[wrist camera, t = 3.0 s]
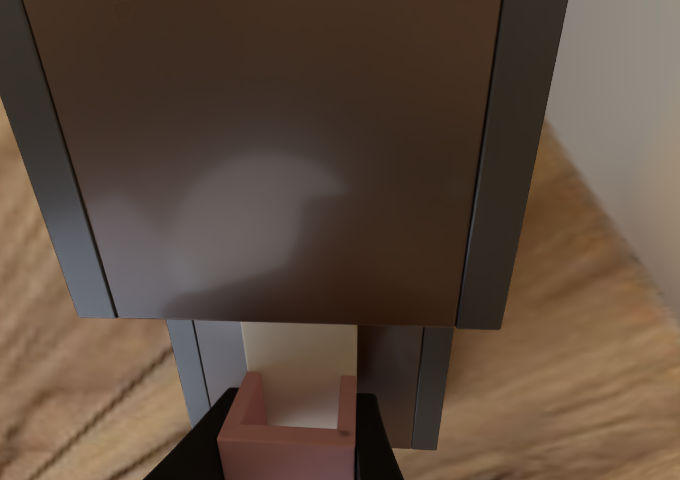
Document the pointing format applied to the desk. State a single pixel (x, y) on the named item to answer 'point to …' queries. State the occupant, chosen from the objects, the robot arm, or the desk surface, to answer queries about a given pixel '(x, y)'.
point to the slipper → (293, 404)
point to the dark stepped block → (286, 171)
